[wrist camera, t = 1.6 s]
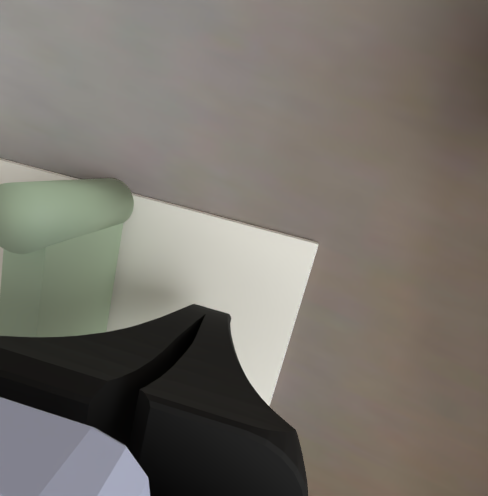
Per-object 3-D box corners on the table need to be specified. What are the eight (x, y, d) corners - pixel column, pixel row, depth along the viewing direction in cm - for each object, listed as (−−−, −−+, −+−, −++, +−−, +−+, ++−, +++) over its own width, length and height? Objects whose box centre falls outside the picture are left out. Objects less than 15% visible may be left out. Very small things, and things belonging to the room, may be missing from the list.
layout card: (200, 630, 19) (197, 642, 18) (-129, 511, 20) (-139, 519, 20) (318, 242, 14) (318, 245, 13) (-140, 121, 15) (-155, 119, 15)
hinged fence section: (91, 465, 16) (11, 582, 12) (55, 454, 17) (-38, 564, 12) (137, 184, 13) (52, 193, 9) (92, 172, 13) (-16, 174, 9)
